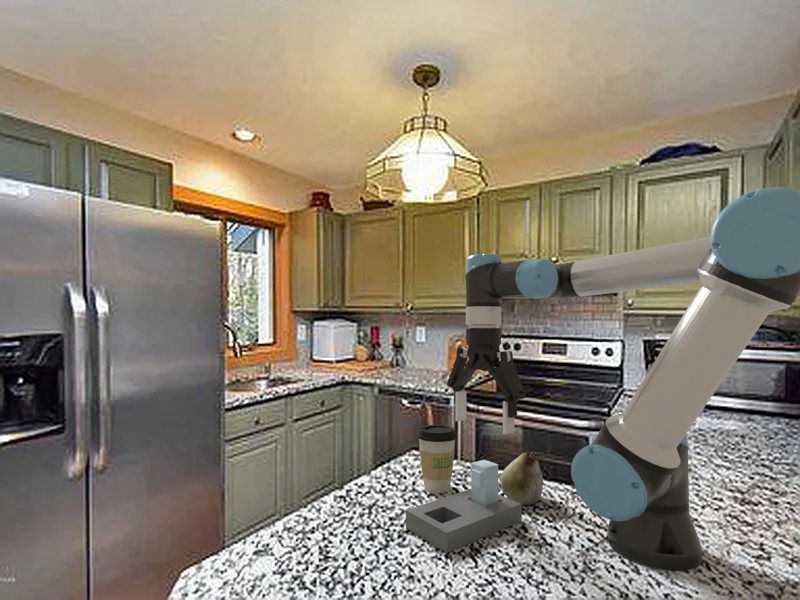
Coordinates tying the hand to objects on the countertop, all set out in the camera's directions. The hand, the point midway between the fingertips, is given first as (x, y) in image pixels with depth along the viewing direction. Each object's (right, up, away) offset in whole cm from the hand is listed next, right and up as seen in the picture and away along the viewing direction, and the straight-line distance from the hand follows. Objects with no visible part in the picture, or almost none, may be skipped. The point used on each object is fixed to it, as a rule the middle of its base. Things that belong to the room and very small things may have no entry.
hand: (483, 426), depth 96 cm
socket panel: (-5, -19, -4) cm, 20 cm away
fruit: (+10, -20, +8) cm, 24 cm away
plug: (0, -19, -1) cm, 19 cm away
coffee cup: (-9, -20, +15) cm, 26 cm away
